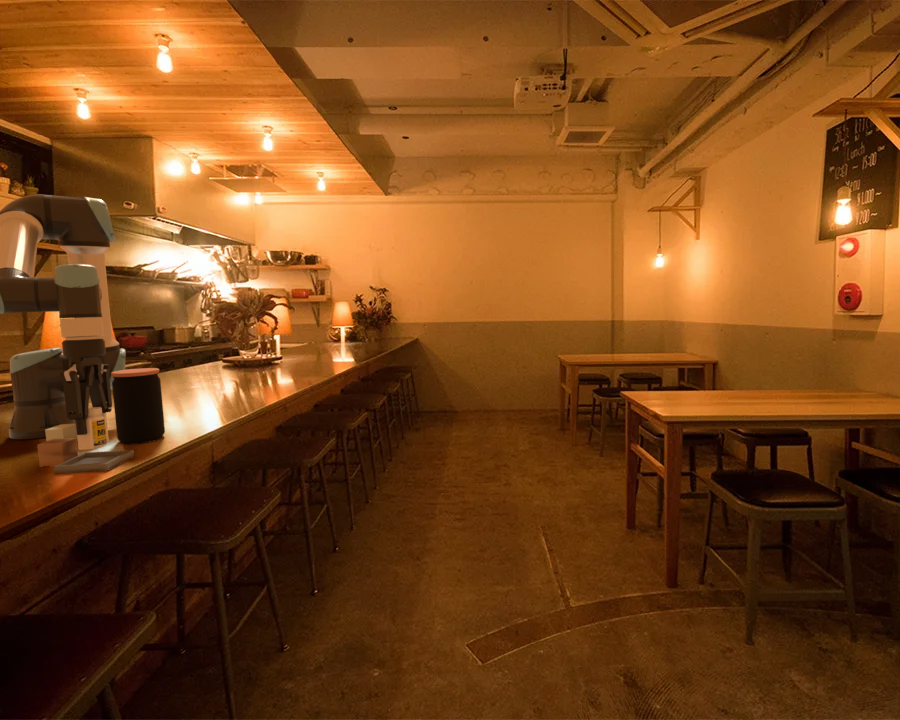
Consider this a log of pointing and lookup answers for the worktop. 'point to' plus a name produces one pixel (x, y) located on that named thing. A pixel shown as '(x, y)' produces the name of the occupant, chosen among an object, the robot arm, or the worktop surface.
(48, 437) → the sage block
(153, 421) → the coffee jar
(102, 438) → the supplement bottle
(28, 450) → the worktop surface
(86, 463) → the slate tray
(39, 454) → the walnut block
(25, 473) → the worktop surface
